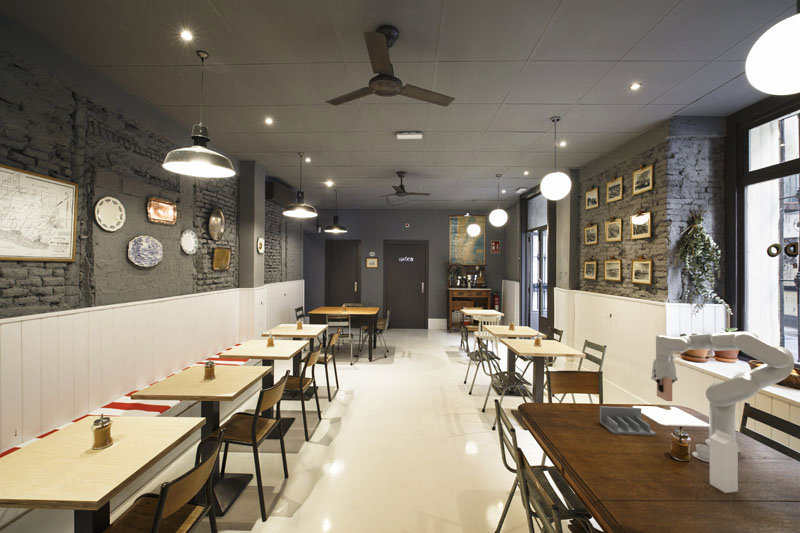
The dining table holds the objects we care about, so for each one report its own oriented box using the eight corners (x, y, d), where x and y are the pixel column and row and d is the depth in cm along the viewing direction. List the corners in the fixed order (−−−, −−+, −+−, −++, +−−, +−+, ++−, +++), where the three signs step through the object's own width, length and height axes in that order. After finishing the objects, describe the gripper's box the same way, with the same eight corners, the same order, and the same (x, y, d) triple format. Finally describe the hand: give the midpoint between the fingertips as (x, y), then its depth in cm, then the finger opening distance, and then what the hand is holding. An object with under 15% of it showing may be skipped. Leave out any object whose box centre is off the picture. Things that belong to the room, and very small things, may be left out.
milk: (721, 483, 144) (721, 428, 144) (738, 492, 138) (738, 435, 138) (709, 484, 143) (709, 429, 143) (725, 493, 137) (725, 435, 137)
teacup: (726, 465, 158) (725, 454, 158) (700, 462, 160) (700, 452, 160) (710, 453, 168) (710, 444, 168) (687, 451, 170) (687, 441, 170)
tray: (631, 407, 227) (631, 405, 227) (675, 408, 226) (675, 406, 226) (661, 426, 199) (661, 423, 199) (712, 428, 198) (712, 425, 198)
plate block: (672, 401, 189) (672, 378, 189) (666, 401, 189) (666, 378, 189) (662, 396, 197) (662, 374, 197) (656, 395, 197) (656, 374, 197)
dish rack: (656, 435, 186) (656, 417, 186) (612, 433, 188) (612, 416, 188) (639, 424, 200) (639, 407, 200) (599, 422, 202) (599, 406, 202)
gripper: (675, 356, 196) (675, 390, 196) (644, 356, 198) (644, 388, 197) (685, 360, 189) (685, 394, 188) (653, 359, 190) (653, 393, 190)
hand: (664, 391), depth 193 cm, fingers closed on plate block, 3 cm apart
